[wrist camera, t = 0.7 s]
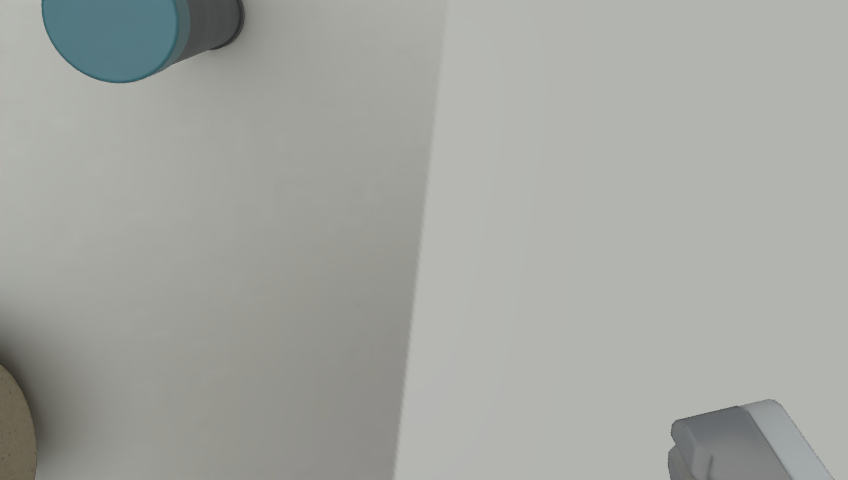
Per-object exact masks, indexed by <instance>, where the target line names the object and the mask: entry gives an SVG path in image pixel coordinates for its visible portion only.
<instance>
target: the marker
mask: <svg viewBox="0 0 848 480" xmlns="http://www.w3.org/2000/svg"><path fill="white" fill-rule="evenodd" d="M42 17H43V22H44V26H45V29H46V32H47V34H48V36H49V38H50V40H51V42H52V44H53V45H54V47H55V48H56V50H57V51H58V52H59V54H60V55H61V56H62V57H63V58H64V59H65V60H66V61H67V62H68V63H69V64H70V65H72V66H73V67H74V68H75V69H77V70H78V71H80V72H82V73H83V74H85V75H87V76H89V77H92V78H94V79H97V80H100V81H105V82H110V83H129V82H135V81H138V80H142V79H144V78H147V77H149V76H151V75H154V74H156V73H158V72H160V71H163V70H164V69H166V68H167V67H169V66H170V65H172V64H174V63H177V62H179V61H182V60H184V59H187V58H189V57H192V56H194V55H197V54H199V53H202V52H204V51H207V50H214V49H219V48H222V47H224V46H226V45H228V44H230V43H231V42H232V41H234V40H235V39H236V37H237V36H238V35H239V33H240V32H241V29H242V27H243V24H244V7H243V3H242V0H42Z"/></svg>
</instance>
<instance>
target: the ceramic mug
mask: <svg viewBox="0 0 848 480" xmlns="http://www.w3.org/2000/svg"><path fill="white" fill-rule="evenodd" d="M36 466H37V444H36V435H35V428H34V424H33V420H32V417H31V413H30V409H29V406H28V403H27V401H26V399H25V397H24V394H23V392H22V391H21V389H20V387H19V386H18V384H17V382H16V381H15V379H14V378H13V377H12V375H11V374H10V373H9V372H8V371H7V370H6V369H5V368H4V367H3V366H2V365H0V480H35V473H36Z"/></svg>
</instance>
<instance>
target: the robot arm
mask: <svg viewBox="0 0 848 480" xmlns="http://www.w3.org/2000/svg"><path fill="white" fill-rule="evenodd" d="M671 436H672V438H673V440H674V442H675V444H676V445H675V446H674V447H673V448H672V449H671V450H670V451H669V455H668V468H669V473H670V478H671V480H834V479H833V477H832V476H831V475H830V473H829V472H828V470H827V469H826V467H825V466H824V465H823V463H822V462H821V460H820V459H819V457H818V456H817V455H816V453H815V452H814V450H813V449H812V448H811V446H810V445H809V443H808V442H807V440H806V439H805V438H804V436H803V435H802V433H801V432H800V430H799V429H798V428H797V426H796V425H795V424H794V422H793V421H792V419H791V418H790V416H789V415H788V413H787V412H786V411H785V409H784V408H783V406H782V405H781V404H779V403H778V402H777V401H775V400H771V399H767V400H763V401H759V402H754V403H750V404H745V405H741V406H734V407H729V408H726V409H721V410H717V411H713V412H708V413H704V414H700V415H696V416H692V417H688V418H684V419H679V420H676V421H675V422H674V423H673V424H672V429H671Z"/></svg>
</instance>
